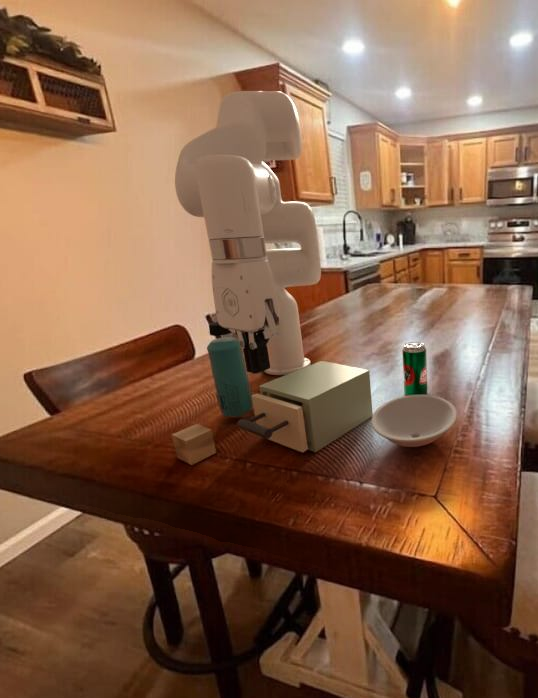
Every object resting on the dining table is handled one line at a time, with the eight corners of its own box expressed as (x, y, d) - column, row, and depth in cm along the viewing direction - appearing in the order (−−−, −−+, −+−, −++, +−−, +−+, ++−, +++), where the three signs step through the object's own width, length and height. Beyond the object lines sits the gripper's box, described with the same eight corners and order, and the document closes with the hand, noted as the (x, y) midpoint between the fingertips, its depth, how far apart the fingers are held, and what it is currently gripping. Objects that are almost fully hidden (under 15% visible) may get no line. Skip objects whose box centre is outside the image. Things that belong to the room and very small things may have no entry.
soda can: (425, 402, 86) (424, 348, 82) (402, 401, 87) (399, 348, 83) (429, 392, 91) (427, 341, 87) (406, 392, 92) (404, 341, 88)
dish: (447, 474, 61) (446, 445, 59) (358, 462, 65) (356, 435, 63) (463, 421, 77) (463, 397, 75) (391, 414, 81) (390, 391, 79)
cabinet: (315, 452, 69) (308, 399, 66) (267, 434, 76) (258, 385, 73) (372, 416, 81) (369, 370, 78) (326, 403, 88) (321, 360, 85)
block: (177, 457, 69) (171, 434, 68) (202, 446, 73) (196, 423, 71) (191, 465, 67) (185, 441, 65) (216, 452, 70) (211, 429, 69)
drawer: (278, 467, 63) (271, 422, 61) (234, 448, 69) (225, 406, 67) (359, 417, 78) (355, 379, 76) (316, 405, 85) (312, 370, 82)
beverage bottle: (261, 411, 85) (245, 318, 79) (240, 425, 79) (221, 326, 73) (236, 408, 88) (218, 317, 81) (214, 422, 82) (193, 325, 75)
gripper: (186, 253, 60) (210, 370, 66) (248, 253, 52) (270, 386, 57) (231, 249, 66) (249, 357, 71) (294, 249, 57) (309, 370, 63)
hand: (258, 370), depth 64 cm, fingers closed
